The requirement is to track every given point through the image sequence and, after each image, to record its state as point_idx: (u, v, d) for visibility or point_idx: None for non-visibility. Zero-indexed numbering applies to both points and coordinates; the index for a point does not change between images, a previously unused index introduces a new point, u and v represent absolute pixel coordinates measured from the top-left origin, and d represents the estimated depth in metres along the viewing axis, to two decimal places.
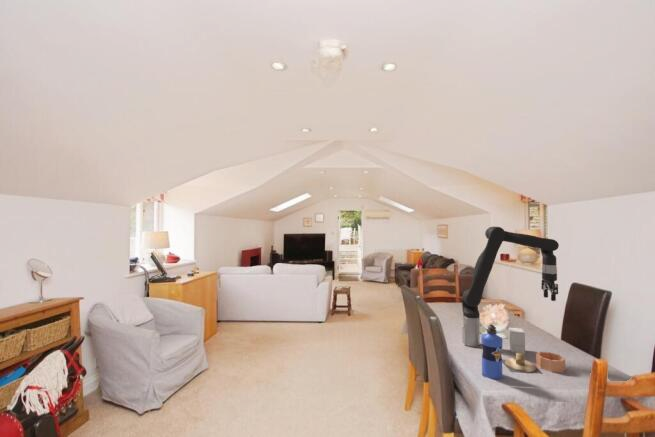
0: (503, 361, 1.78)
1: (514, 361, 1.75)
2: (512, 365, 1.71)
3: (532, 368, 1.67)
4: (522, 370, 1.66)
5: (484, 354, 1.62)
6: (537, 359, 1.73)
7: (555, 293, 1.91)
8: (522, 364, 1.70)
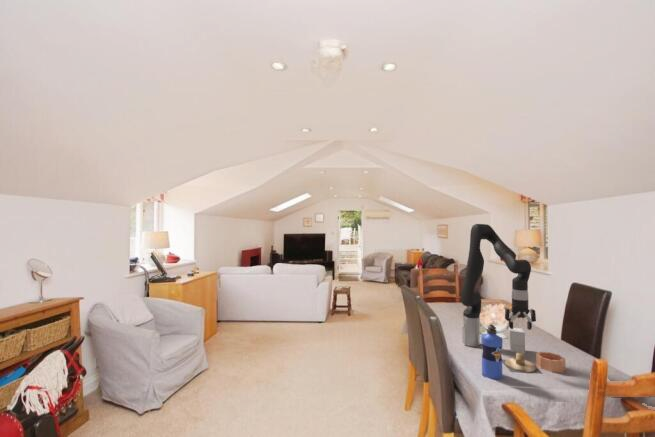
0: (503, 361, 1.78)
1: (514, 361, 1.75)
2: (512, 365, 1.71)
3: (532, 368, 1.67)
4: (522, 370, 1.66)
5: (484, 354, 1.62)
6: (537, 359, 1.73)
7: None
8: (522, 364, 1.70)
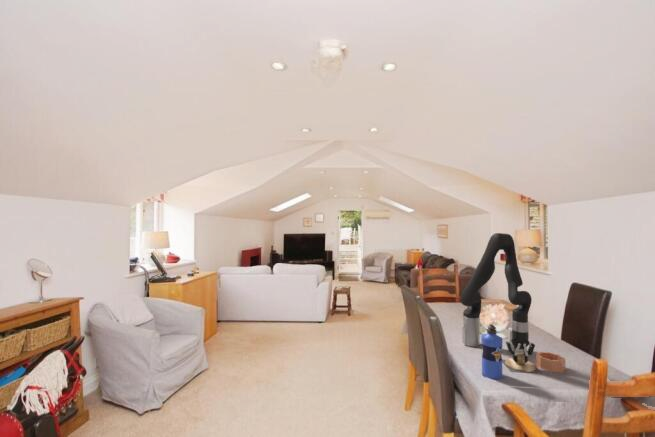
0: (503, 361, 1.78)
1: (514, 361, 1.75)
2: (512, 365, 1.71)
3: (532, 368, 1.67)
4: (522, 370, 1.66)
5: (484, 354, 1.62)
6: (537, 359, 1.73)
7: None
8: (522, 364, 1.70)
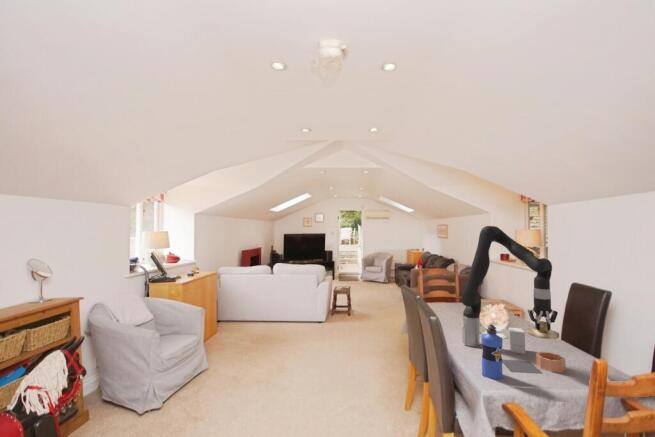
0: (503, 361, 1.78)
1: (536, 330, 1.74)
2: (535, 333, 1.69)
3: (555, 335, 1.66)
4: (545, 337, 1.65)
5: (484, 354, 1.62)
6: (537, 359, 1.73)
7: None
8: (545, 332, 1.69)
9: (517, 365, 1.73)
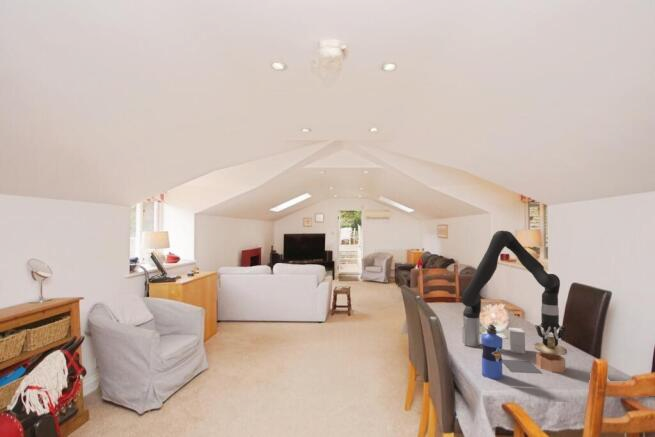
0: (503, 361, 1.78)
1: (543, 345, 1.74)
2: (542, 348, 1.69)
3: (563, 351, 1.66)
4: (553, 353, 1.65)
5: (484, 354, 1.62)
6: (537, 359, 1.73)
7: None
8: (552, 347, 1.69)
9: (517, 365, 1.73)
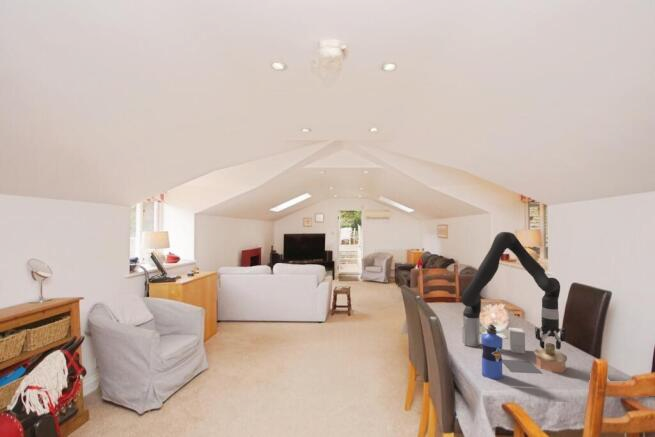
0: (503, 361, 1.78)
1: (543, 351, 1.74)
2: (542, 355, 1.69)
3: (563, 358, 1.66)
4: (553, 360, 1.65)
5: (484, 354, 1.62)
6: (537, 359, 1.73)
7: None
8: (552, 354, 1.69)
9: (517, 365, 1.73)
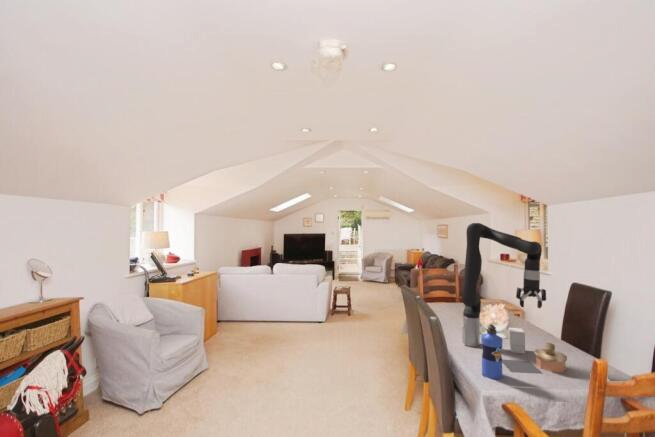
0: (503, 361, 1.78)
1: (543, 351, 1.74)
2: (542, 355, 1.69)
3: (563, 358, 1.66)
4: (553, 360, 1.65)
5: (484, 354, 1.62)
6: (537, 359, 1.73)
7: None
8: (552, 354, 1.69)
9: (517, 365, 1.73)
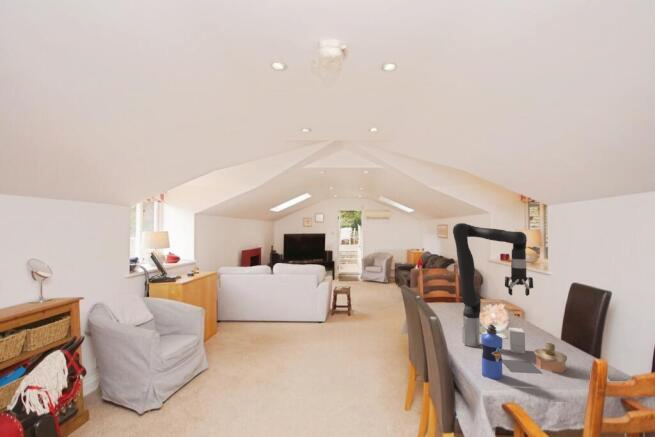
0: (503, 361, 1.78)
1: (543, 351, 1.74)
2: (542, 355, 1.69)
3: (563, 358, 1.66)
4: (553, 360, 1.65)
5: (484, 354, 1.62)
6: (537, 359, 1.73)
7: None
8: (552, 354, 1.69)
9: (517, 365, 1.73)
